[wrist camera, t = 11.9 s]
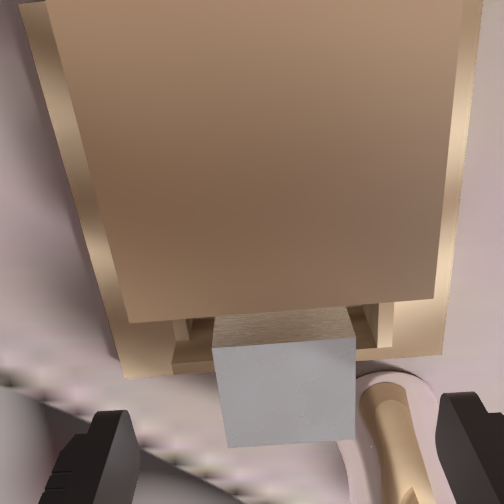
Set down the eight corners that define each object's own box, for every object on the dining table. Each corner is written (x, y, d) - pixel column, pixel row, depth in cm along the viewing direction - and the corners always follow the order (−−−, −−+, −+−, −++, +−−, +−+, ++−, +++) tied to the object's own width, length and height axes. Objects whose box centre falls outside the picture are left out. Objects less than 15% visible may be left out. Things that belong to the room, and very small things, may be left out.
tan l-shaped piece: (29, 4, 17) (-555, -6, 5) (476, -45, 16) (1167, -203, 4) (129, 365, 25) (9, 721, 12) (434, 341, 24) (628, 692, 12)
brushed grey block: (224, 228, 20) (211, 348, 13) (318, 220, 20) (356, 337, 13) (234, 306, 22) (228, 448, 15) (320, 299, 22) (354, 439, 15)
